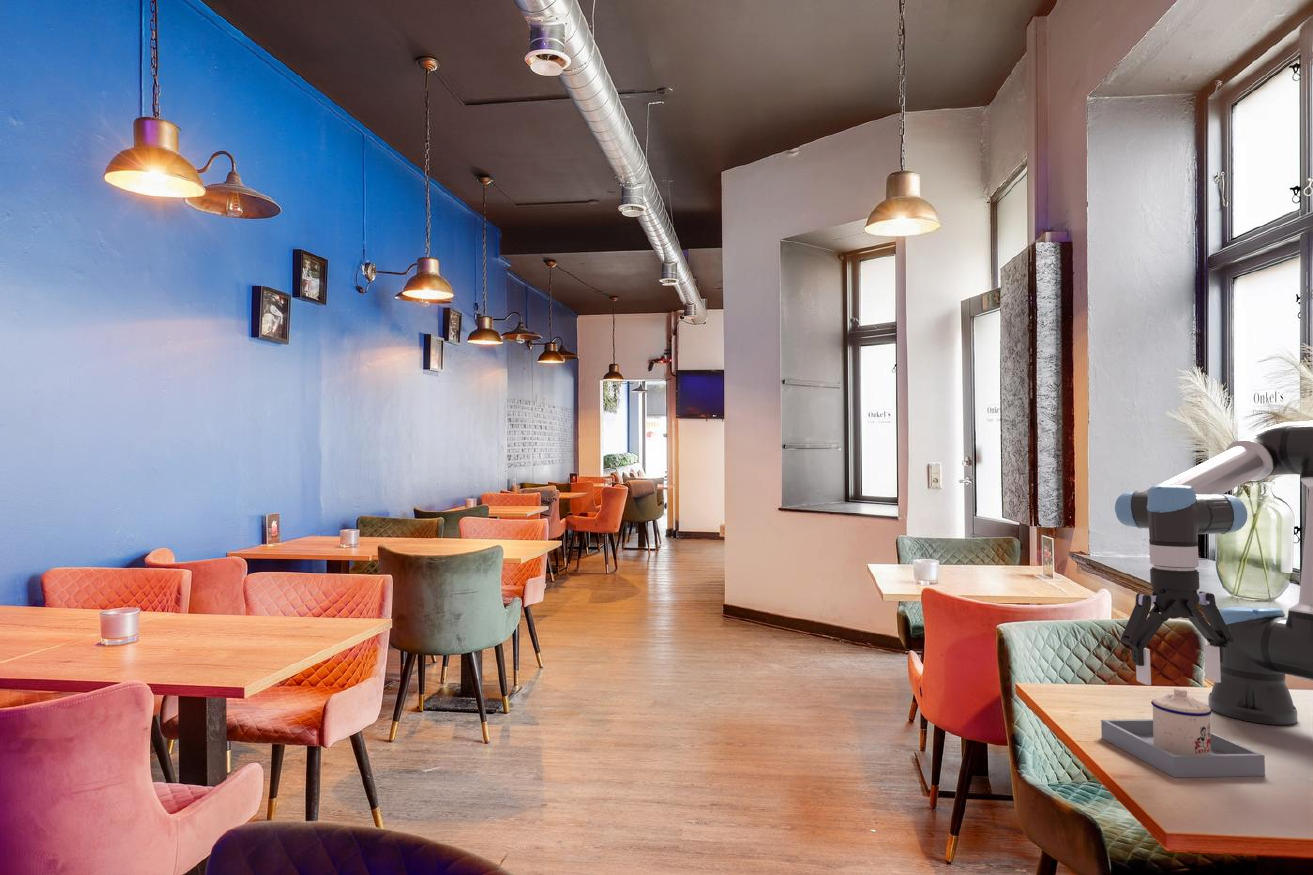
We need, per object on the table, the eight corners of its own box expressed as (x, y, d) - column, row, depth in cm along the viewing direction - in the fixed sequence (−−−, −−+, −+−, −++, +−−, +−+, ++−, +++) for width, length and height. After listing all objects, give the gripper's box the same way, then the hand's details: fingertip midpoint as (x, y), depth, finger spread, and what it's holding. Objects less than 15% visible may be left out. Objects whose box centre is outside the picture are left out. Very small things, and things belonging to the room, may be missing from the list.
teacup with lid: (1208, 767, 128) (1206, 700, 129) (1147, 752, 134) (1145, 688, 135) (1218, 749, 137) (1217, 686, 137) (1160, 736, 143) (1159, 676, 143)
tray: (1181, 736, 145) (1180, 718, 145) (1265, 775, 127) (1264, 755, 127) (1101, 737, 144) (1101, 719, 144) (1174, 777, 126) (1173, 756, 126)
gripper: (1220, 563, 142) (1224, 673, 141) (1097, 566, 140) (1101, 678, 139) (1254, 568, 134) (1259, 685, 133) (1124, 572, 132) (1129, 690, 132)
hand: (1178, 681), depth 136 cm, fingers open, 13 cm apart
